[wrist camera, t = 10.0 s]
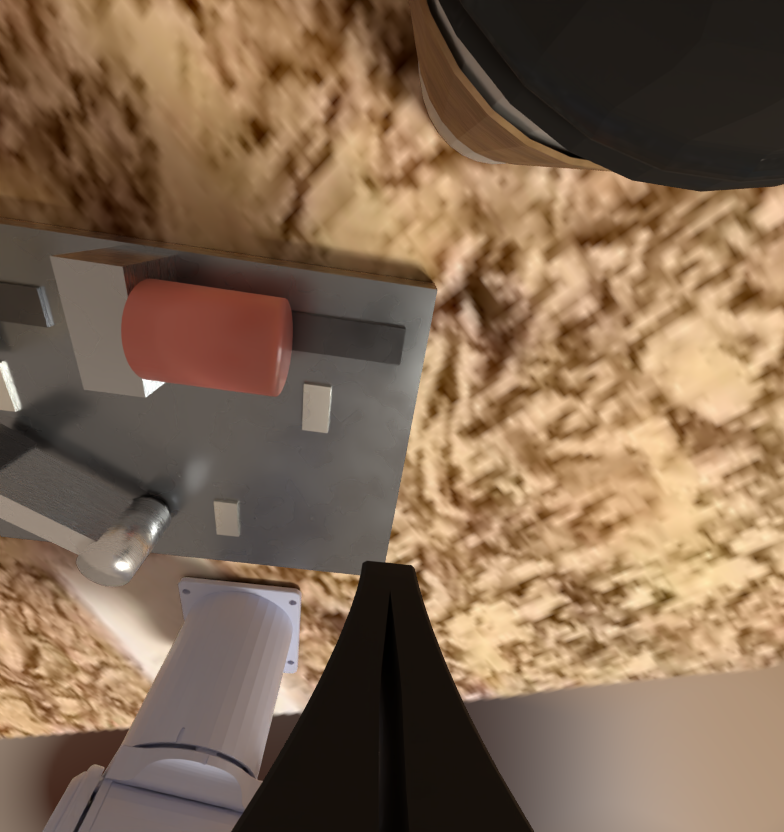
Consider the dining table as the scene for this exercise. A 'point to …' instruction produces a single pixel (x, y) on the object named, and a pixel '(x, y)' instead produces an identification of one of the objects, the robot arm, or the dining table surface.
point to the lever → (77, 511)
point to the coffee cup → (610, 86)
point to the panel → (218, 397)
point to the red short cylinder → (208, 337)
